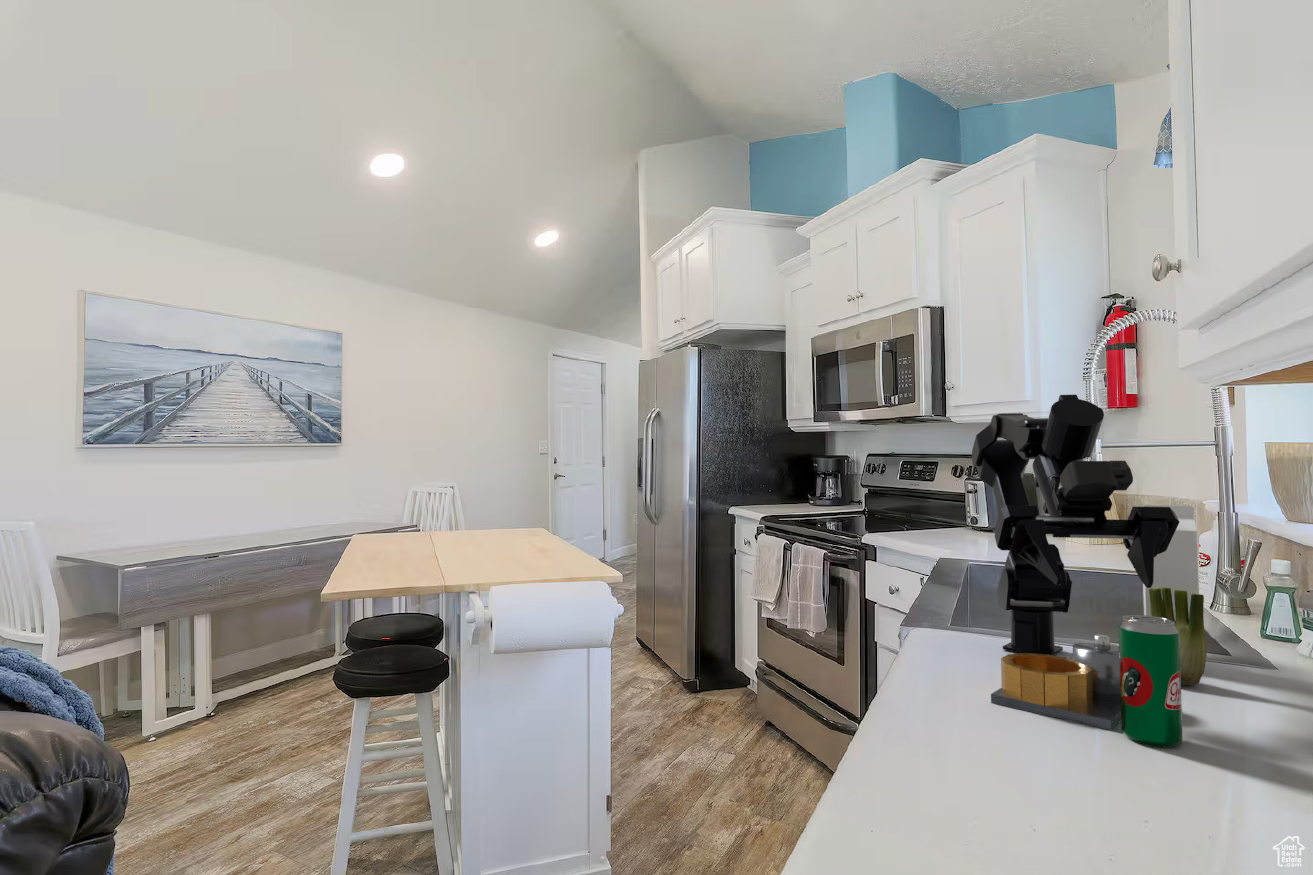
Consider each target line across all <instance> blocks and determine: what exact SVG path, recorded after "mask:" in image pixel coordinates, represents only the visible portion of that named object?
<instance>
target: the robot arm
mask: <svg viewBox="0 0 1313 875" xmlns="http://www.w3.org/2000/svg"><path fill="white" fill-rule="evenodd" d="M1104 417H1105V413H1104V410H1103V409H1102V407H1099V406H1098V405H1096V404H1094V403H1092V402H1091V401H1088V400H1084V399H1082V398H1081V399H1080V398H1079V397H1078V394H1060V395H1059V396H1058V401H1055V402H1054V403H1053V404H1052V405H1051V407H1050V410H1049V416H1048V418H1045V417H1044V418H1034V417H1031V416H1028V414H1023V412H1019V413H1018V412H1017V413H1016V412H1015V413H1014V412H1012V413H1011V412H1010V413H1009V412H1006V413H1000V412H999V413H997V414H994V415H992V417H991V420H990V423H989V424H988V425H987V426H986V427H985V428H983V429H982V430H980V432H978V433H977V434H976V435H975V439H974V442H973V446H972V450H971V462H972V466H973V467H975V468H976V471H977V474H978V477H979V479H980V480H981V481H982V482H984V483H985V484H987V485H988V486H990V487H991V488H992V490H993V494H994V496H995V500H996V505H997V509H998V515H997V518H996V524H995V528H994V539H995V544H996V546H997V548H998V549H999V550H1000V551H1008V553H1007V557H1006V560H1005V563H1004V567H1003V569H1002V572H1001V576H1000V578H999V581H998V585H997V587H996V588H997V589H996V598H997V600H996V601H997V605H998V606H999V607H1000V608H1002V609H1003V610H1005V611H1010V642H1009V643H1006V644H1004V645H1002V650H1004V651H1010V652H1015V653H1032V654H1046V655H1053V656H1056V655H1057V654H1058V653H1060V652H1062V651H1063V650H1064V647H1063V646H1061V645H1055V612H1056V613H1058V612H1059V613H1060V612H1061V613H1069V608H1070V600H1071V592H1072V586H1073V581H1072V579H1071V577H1070V574H1069V572H1068V571H1067V570H1065V564H1064V562H1063V560H1062V558H1061V554H1060V549H1059V548H1058V547H1057V546H1056V544H1054V543H1049V541H1048V539H1047V535H1052V537H1053V538H1067V539H1068V538H1074V539H1075V538H1076V539H1122V540H1123V544H1124V547H1125V549H1127V550H1128V552H1127V554H1126V556H1127V559H1128V560H1129V561H1130V563H1131V565H1132V567H1133V569H1134V571H1135V573H1136V574H1137V576H1138V578H1139V579H1140V581H1141V583H1142V585H1143V584H1144V585H1145V586H1146V587H1147V588H1151V587H1152V585H1153V579H1154V557H1156V556H1157V554H1160V553H1163V552H1165V551H1166V550H1167V548H1168V546H1169V544H1170V541H1171V539H1172V537H1173V535H1174V533H1175V531H1176V529H1177V526H1178V524H1179V520H1178V518H1177V516H1176V514H1175V512H1174V511H1173V510H1172V509H1171V508H1170V507H1142V506H1132V508H1131V510H1130V511H1129V512H1130V513H1129V515H1128V517H1127V519H1108V518H1107V516H1106V514H1105V512H1110V511H1111V509H1112V506H1113V501H1112V500H1111V498H1110V497H1111V496H1112V494H1113V493H1114V492H1115V491H1127V490H1128V489H1129V487H1130V486H1131V485H1132V484H1133V482H1134V477H1133V473H1132V469H1131V467H1130V465H1129V464H1128V463H1127V461H1125V460H1083V459H1086V458H1087V459H1090V458H1091V457H1092V453H1093V451H1094V448H1095V446H1096V443H1097V438H1098V435H1099V432H1100V431H1101V430H1100V429H1101V427H1102V423H1103V420H1104ZM1000 438H1002V439H1000ZM1030 460H1033V462H1032V470H1033V474H1034V481H1033V482H1034V487H1036V488H1039V490H1040V492H1041V496H1042V498H1043V501H1044V503H1043V506H1042V510H1043V513H1044V514H1045V515H1039V510H1038V505H1031V503H1030V501H1029V497H1028V493H1027V491H1026V487H1025V486H1026V485H1025V483H1024V480H1023V478H1024V475H1025V472H1026V468H1027V466H1028V464H1029V462H1030ZM1046 514H1047V515H1046ZM1048 514H1049V515H1048Z"/></svg>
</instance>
